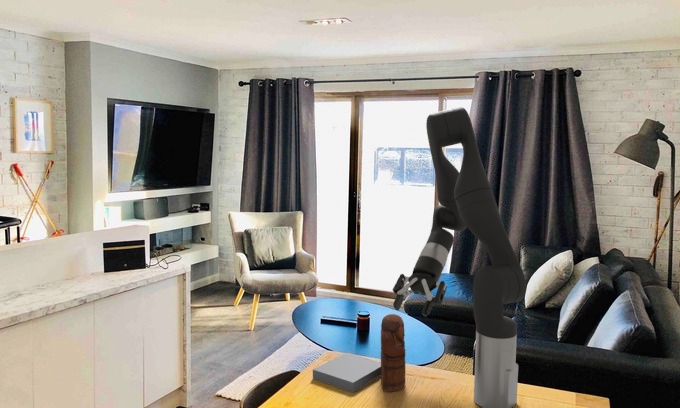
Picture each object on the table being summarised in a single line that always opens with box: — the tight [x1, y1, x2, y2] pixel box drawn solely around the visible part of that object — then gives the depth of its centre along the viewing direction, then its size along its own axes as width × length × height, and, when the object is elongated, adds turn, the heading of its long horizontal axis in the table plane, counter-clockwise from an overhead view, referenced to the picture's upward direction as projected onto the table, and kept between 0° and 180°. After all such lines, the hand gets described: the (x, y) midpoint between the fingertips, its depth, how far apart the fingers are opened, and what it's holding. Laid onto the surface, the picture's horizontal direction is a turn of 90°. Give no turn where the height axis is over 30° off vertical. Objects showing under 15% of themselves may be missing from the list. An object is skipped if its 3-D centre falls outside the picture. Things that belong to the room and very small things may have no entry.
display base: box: [312, 352, 381, 393], centre depth 147 cm, size 13×15×2 cm
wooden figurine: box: [380, 313, 406, 393], centre depth 141 cm, size 12×6×18 cm, turn 177°
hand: (409, 311), depth 148 cm, fingers open, 8 cm apart
